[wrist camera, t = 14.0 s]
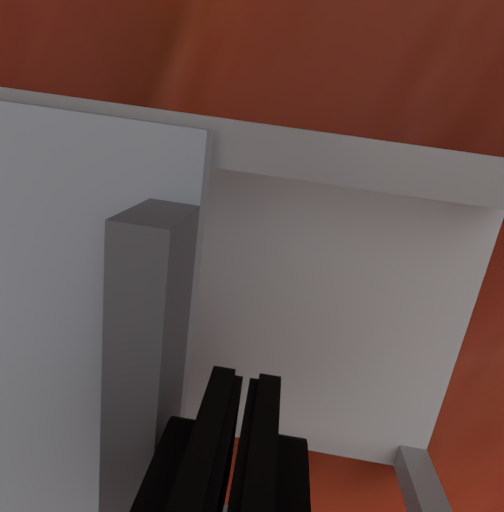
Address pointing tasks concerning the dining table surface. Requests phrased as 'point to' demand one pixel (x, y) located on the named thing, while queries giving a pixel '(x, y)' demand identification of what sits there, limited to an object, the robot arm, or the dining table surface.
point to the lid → (94, 300)
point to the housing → (336, 279)
